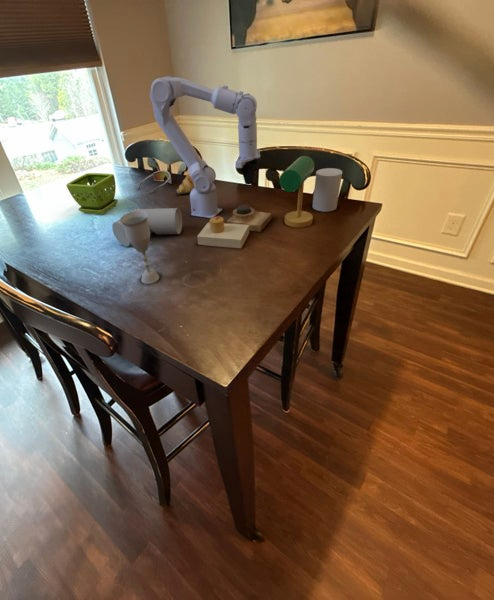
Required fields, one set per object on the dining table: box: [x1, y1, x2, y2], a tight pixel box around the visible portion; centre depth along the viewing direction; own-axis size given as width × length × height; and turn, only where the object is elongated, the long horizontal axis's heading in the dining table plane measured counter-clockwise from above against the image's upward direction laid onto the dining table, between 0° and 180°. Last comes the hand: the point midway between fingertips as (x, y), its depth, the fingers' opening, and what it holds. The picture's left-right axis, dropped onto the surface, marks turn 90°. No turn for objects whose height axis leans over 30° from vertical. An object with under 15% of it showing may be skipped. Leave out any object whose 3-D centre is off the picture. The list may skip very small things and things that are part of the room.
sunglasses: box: [137, 170, 173, 193], centre depth 146 cm, size 14×15×5 cm
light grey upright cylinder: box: [311, 167, 343, 213], centre depth 107 cm, size 8×8×12 cm
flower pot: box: [65, 172, 119, 215], centre depth 127 cm, size 14×14×13 cm
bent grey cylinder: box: [111, 207, 183, 247], centre depth 104 cm, size 18×11×20 cm
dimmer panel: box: [196, 221, 250, 249], centre depth 99 cm, size 14×10×3 cm
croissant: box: [176, 173, 195, 195], centre depth 138 cm, size 21×10×8 cm, turn 140°
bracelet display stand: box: [278, 155, 315, 228], centre depth 98 cm, size 9×14×19 cm, turn 150°
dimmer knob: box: [209, 215, 225, 233], centre depth 97 cm, size 4×4×4 cm
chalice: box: [119, 211, 160, 285], centre depth 81 cm, size 7×7×18 cm
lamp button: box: [236, 204, 251, 215], centre depth 105 cm, size 4×4×2 cm
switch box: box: [226, 207, 272, 232], centre depth 105 cm, size 12×10×4 cm
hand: (248, 183), depth 107 cm, fingers closed
